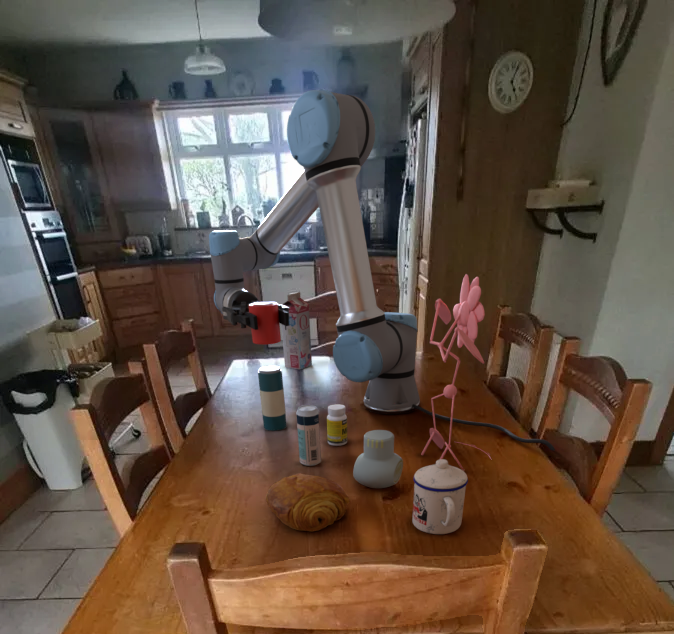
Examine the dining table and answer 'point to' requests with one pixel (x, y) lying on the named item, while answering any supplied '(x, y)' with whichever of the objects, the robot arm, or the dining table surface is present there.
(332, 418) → the supplement bottle
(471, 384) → the dining table surface
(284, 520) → the croissant
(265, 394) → the spray can
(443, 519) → the teacup with lid
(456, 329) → the figurine
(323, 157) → the robot arm
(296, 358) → the juice carton
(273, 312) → the cap
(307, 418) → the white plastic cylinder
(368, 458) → the air freshener
